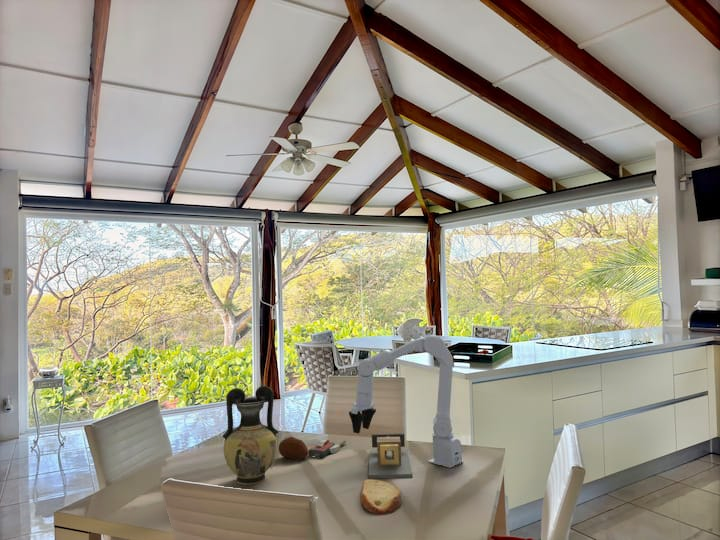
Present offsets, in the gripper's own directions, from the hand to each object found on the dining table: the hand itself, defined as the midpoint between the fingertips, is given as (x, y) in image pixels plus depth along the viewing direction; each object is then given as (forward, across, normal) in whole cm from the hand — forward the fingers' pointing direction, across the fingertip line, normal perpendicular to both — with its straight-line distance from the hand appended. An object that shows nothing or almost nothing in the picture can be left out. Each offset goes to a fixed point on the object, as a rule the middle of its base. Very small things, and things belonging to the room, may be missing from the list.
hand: (361, 430), depth 172 cm
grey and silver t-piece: (+6, -1, +11) cm, 13 cm away
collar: (+7, +6, +14) cm, 17 cm away
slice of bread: (+10, +28, +20) cm, 36 cm away
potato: (+14, +6, -24) cm, 28 cm away
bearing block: (+9, +1, +12) cm, 15 cm away
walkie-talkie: (+13, -7, -17) cm, 22 cm away
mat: (+9, +1, +12) cm, 15 cm away
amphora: (+15, +30, -24) cm, 41 cm away
